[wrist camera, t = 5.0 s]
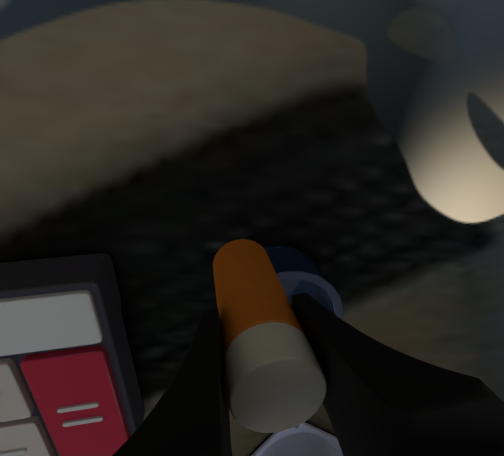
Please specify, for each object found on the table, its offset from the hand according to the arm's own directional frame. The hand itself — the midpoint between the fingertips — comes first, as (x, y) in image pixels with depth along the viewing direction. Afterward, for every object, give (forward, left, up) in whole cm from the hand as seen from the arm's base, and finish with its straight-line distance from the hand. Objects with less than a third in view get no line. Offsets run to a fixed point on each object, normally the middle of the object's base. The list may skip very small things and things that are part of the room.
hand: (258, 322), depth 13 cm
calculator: (+4, +15, -11) cm, 19 cm away
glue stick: (0, 0, -5) cm, 5 cm away
